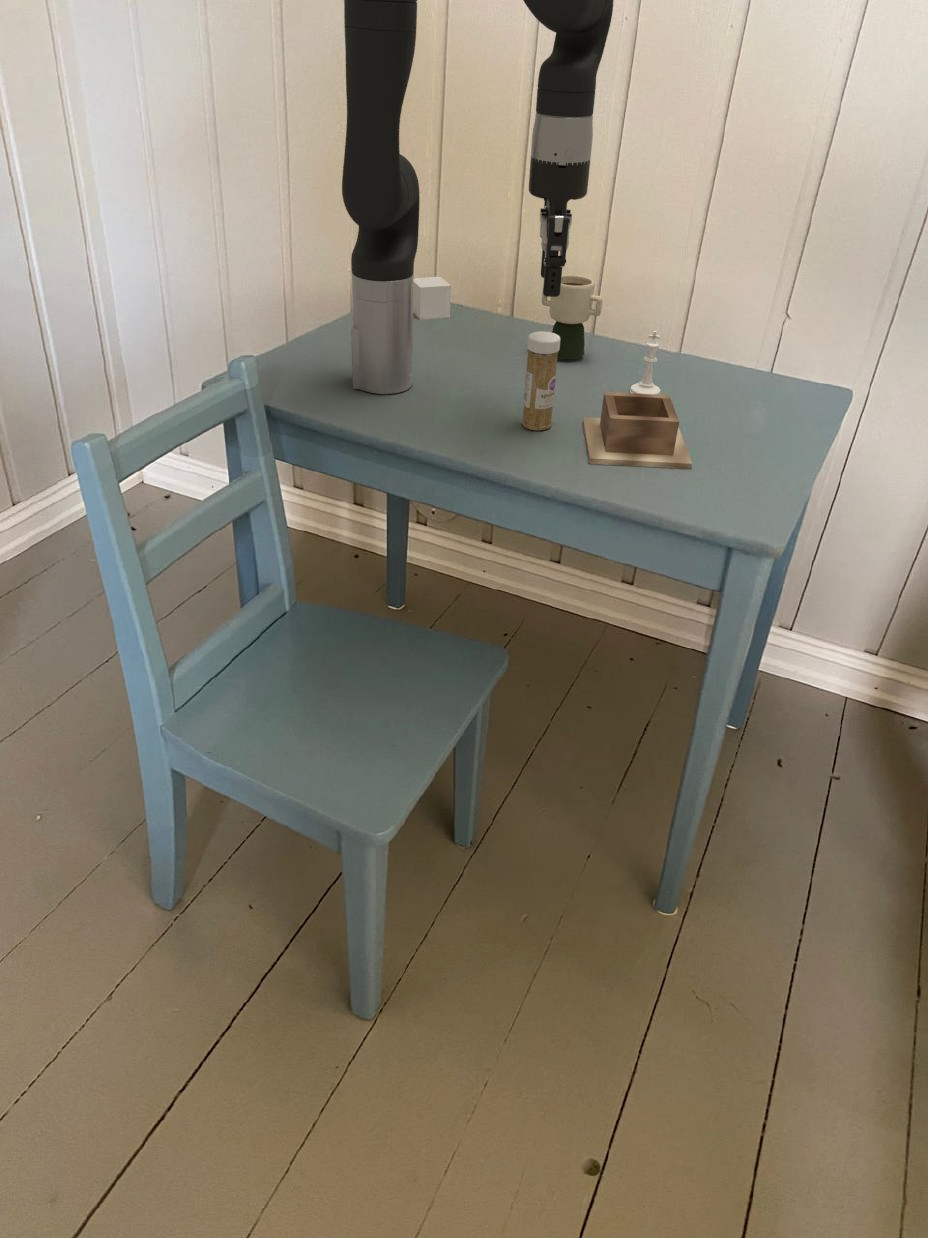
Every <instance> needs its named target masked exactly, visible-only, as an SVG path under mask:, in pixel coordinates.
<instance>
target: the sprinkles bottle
mask: <svg viewBox="0 0 928 1238" xmlns="http://www.w3.org/2000/svg"><path fill="white" fill-rule="evenodd" d="M526 348H527V358H526V359H527V360H526V368H525V380H524V381H525V382H524V391H523V401H522V402H523V410H522V418H521V425H522V426H523V427H524V428H525V429H528V430H531V431H545V430H548V429H550V428H552V427H551V426H552V424H553V423H552V415H553V407H554V400H555V389H556V382H557V381H556V378H557V377H556V376H557V374H556V373H557V363H558V358H557V356H558V351H559V349H560V337H559V336H558V335H557V334H555V333H552V331H541V330H540V331H533V332H531V333H530V334H528V337H527V344H526Z"/></svg>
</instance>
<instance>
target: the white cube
mask: <svg viewBox="0 0 928 1238" xmlns="http://www.w3.org/2000/svg"><path fill="white" fill-rule="evenodd" d="M451 286H452V285H451V284H450V283H449V282H447V280H445V279H444V278H443V277H441V276H432V277H431V276H430V277H418V278H417V277H416V278H414V289H413V315H415V316H416V317H417V318H418V319H419V320H431V319H433V320H434V319H444V318H450V317H451V293H452V287H451Z"/></svg>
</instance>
